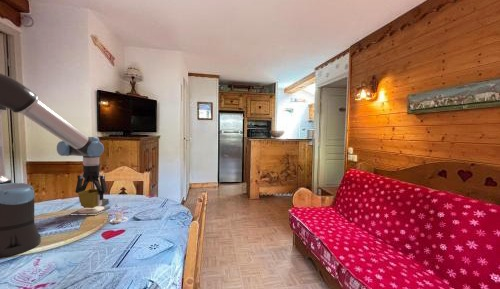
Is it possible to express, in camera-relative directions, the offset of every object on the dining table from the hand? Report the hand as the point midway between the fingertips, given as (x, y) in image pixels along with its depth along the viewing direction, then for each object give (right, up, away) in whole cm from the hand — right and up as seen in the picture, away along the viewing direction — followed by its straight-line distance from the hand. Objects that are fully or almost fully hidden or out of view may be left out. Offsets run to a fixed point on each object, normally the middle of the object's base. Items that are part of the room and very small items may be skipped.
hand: (91, 205), depth 128 cm
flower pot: (0, -1, 0) cm, 1 cm away
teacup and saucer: (+20, -5, -14) cm, 25 cm away
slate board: (0, -3, 0) cm, 3 cm away
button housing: (-3, -3, +12) cm, 12 cm away
